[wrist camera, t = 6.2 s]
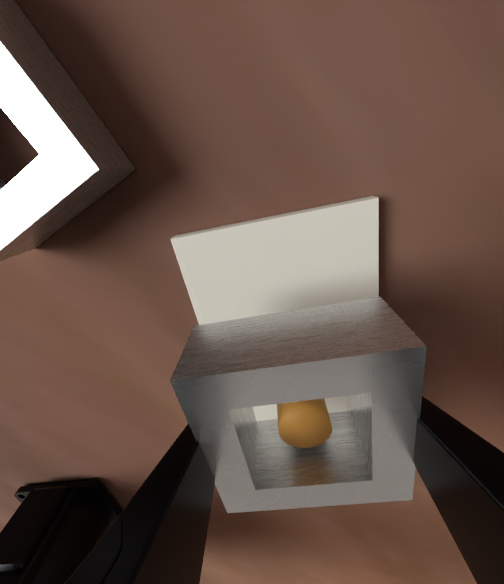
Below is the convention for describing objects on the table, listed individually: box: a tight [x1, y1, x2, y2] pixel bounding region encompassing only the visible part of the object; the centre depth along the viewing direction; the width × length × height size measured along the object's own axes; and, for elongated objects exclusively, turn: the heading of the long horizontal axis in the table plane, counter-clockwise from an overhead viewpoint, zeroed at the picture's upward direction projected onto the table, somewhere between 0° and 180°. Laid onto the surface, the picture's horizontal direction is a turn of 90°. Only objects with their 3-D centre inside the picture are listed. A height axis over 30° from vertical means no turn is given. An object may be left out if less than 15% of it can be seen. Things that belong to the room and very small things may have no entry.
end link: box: [170, 297, 427, 513], centre depth 8 cm, size 6×6×2 cm
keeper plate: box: [171, 196, 379, 448], centre depth 10 cm, size 11×8×5 cm
